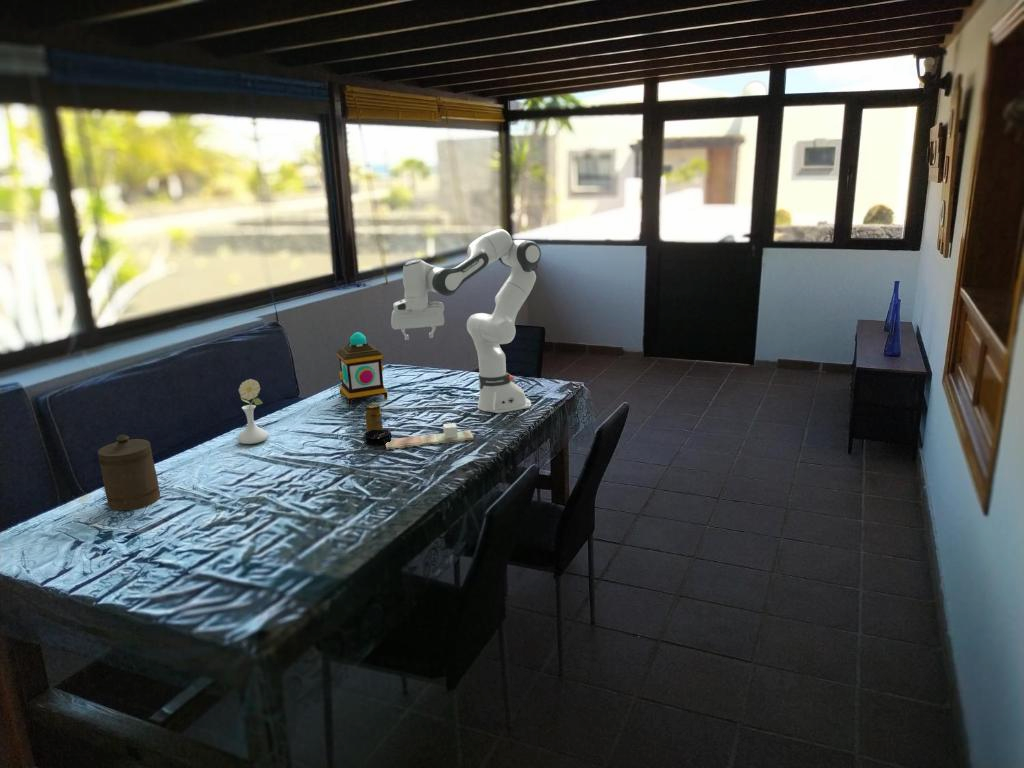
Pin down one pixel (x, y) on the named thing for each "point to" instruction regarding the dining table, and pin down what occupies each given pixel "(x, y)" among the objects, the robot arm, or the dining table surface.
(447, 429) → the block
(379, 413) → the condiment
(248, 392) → the flower in vase
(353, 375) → the decorative lantern
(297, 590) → the dining table surface
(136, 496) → the wooden container
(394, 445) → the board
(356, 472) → the dining table surface
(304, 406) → the dining table surface
